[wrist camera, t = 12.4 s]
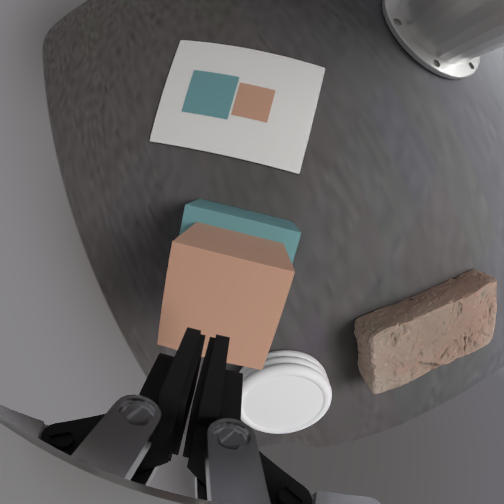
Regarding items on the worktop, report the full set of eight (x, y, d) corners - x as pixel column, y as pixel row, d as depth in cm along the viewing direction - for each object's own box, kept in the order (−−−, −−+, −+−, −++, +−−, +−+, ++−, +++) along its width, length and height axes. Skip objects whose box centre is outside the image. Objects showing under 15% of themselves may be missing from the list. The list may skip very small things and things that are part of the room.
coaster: (329, 404, 30) (335, 424, 26) (247, 419, 30) (246, 441, 27) (321, 337, 27) (328, 357, 24) (223, 357, 28) (220, 378, 25)
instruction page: (181, 40, 20) (180, 39, 20) (324, 68, 21) (325, 67, 20) (150, 141, 23) (149, 141, 22) (299, 174, 23) (299, 174, 23)
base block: (199, 198, 24) (185, 204, 19) (292, 221, 24) (301, 232, 19) (182, 285, 26) (166, 309, 21) (267, 306, 26) (270, 334, 21)
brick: (359, 376, 29) (372, 403, 24) (350, 315, 27) (365, 340, 22) (473, 324, 27) (494, 341, 23) (475, 264, 25) (501, 277, 21)
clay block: (196, 221, 19) (172, 241, 13) (283, 243, 20) (294, 271, 14) (181, 301, 21) (157, 344, 15) (260, 320, 21) (262, 370, 15)
